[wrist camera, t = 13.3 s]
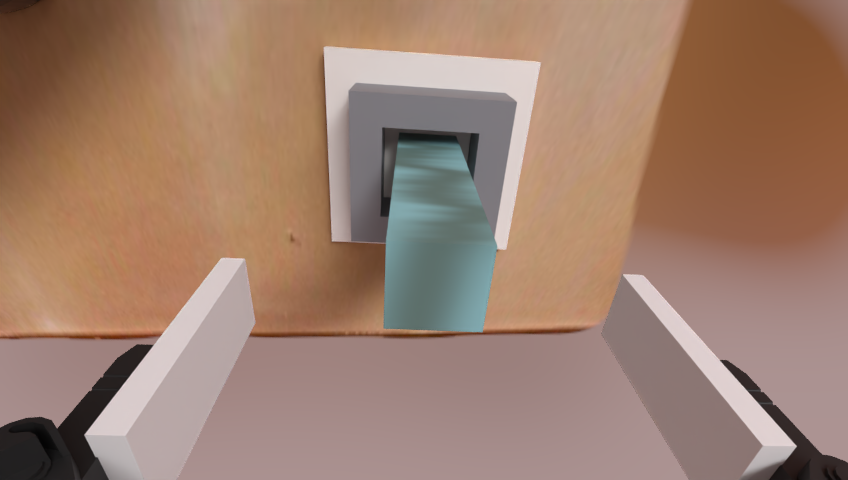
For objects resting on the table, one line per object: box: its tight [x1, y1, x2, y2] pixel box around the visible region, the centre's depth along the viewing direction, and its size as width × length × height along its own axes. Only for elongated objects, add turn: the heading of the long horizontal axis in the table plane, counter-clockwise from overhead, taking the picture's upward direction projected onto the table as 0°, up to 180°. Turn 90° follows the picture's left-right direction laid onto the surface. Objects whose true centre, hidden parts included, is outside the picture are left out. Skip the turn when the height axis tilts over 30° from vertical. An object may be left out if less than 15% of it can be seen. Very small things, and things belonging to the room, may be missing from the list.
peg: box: [384, 132, 497, 332], centre depth 23 cm, size 4×4×16 cm
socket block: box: [324, 46, 541, 250], centre depth 29 cm, size 14×14×4 cm
